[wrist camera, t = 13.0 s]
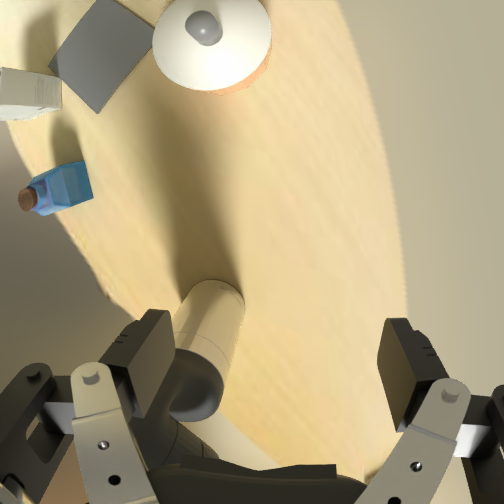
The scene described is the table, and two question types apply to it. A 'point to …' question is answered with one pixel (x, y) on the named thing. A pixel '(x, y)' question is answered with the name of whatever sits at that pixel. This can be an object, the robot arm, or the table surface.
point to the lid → (211, 42)
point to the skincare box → (28, 94)
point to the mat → (102, 52)
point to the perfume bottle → (57, 189)
